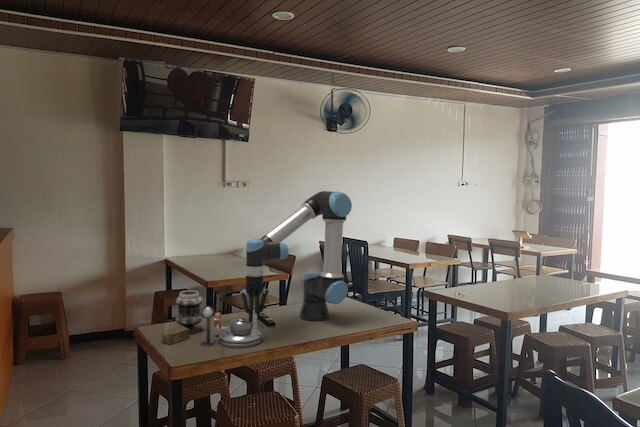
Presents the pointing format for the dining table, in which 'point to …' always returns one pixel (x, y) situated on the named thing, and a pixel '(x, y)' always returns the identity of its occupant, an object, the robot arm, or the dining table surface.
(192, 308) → the apothecary jar
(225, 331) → the turntable
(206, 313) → the dial gauge stand
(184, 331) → the stone block
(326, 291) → the robot arm
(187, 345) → the dining table surface
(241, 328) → the cover
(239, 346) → the turntable base
